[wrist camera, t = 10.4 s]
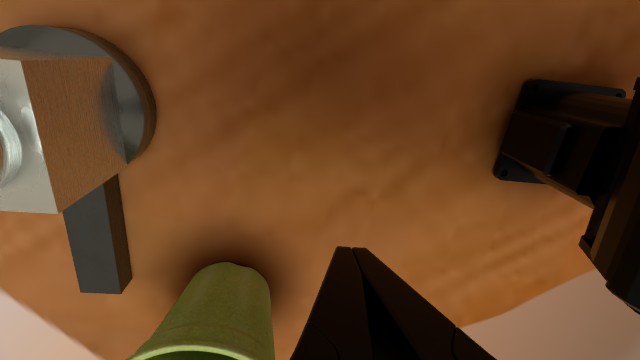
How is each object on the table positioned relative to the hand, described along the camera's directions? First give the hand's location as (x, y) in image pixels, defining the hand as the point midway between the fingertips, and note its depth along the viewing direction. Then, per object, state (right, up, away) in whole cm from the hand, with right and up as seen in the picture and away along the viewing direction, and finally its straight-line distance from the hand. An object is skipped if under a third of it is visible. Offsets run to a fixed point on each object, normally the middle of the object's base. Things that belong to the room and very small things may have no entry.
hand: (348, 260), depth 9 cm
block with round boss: (-14, +6, +8) cm, 17 cm away
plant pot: (-8, -6, +15) cm, 18 cm away
